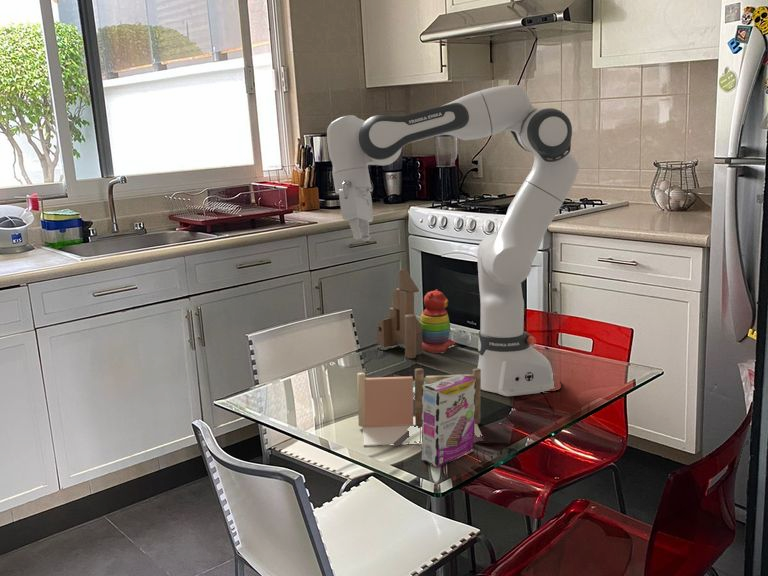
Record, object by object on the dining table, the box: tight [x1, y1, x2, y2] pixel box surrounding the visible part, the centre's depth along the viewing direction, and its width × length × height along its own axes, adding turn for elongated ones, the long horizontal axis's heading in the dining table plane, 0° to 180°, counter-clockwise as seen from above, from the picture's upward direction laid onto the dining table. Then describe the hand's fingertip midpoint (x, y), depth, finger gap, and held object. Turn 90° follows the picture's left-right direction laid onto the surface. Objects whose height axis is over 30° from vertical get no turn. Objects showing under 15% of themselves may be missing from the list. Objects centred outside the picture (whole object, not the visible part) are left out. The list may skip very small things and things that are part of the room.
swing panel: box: [356, 372, 414, 428], centre depth 173 cm, size 12×2×12 cm, turn 93°
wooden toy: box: [376, 268, 423, 360], centre depth 229 cm, size 16×7×25 cm, turn 42°
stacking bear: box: [419, 289, 457, 354], centre depth 233 cm, size 11×10×18 cm
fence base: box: [414, 367, 482, 426], centre depth 174 cm, size 15×2×14 cm, turn 93°
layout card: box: [362, 415, 483, 448], centre depth 172 cm, size 26×16×1 cm, turn 93°
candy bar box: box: [421, 373, 476, 468], centre depth 157 cm, size 11×5×16 cm, turn 131°
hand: (362, 239), depth 187 cm, fingers open, 8 cm apart
